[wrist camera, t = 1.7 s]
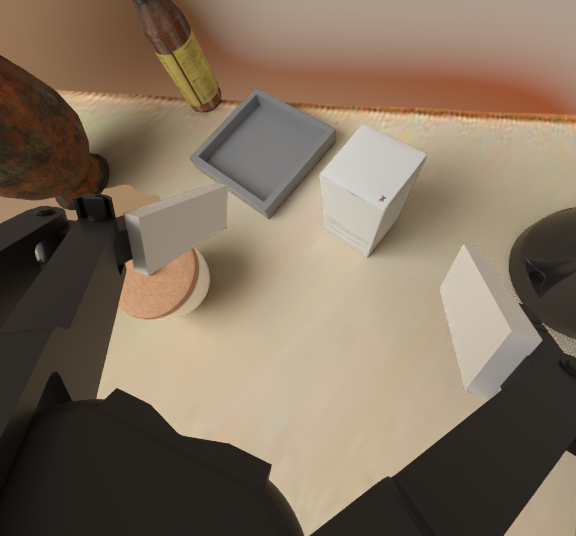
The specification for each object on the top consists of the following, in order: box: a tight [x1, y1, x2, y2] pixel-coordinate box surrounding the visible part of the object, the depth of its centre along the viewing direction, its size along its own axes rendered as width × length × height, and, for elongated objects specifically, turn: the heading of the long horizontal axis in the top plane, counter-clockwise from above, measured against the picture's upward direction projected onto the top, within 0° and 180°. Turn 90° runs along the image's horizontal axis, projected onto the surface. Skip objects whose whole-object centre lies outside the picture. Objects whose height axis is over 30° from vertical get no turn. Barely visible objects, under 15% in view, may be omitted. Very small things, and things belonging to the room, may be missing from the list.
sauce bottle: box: [133, 0, 221, 112], centre depth 39 cm, size 7×6×20 cm
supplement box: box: [319, 123, 427, 257], centre depth 31 cm, size 7×7×13 cm
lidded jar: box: [119, 247, 210, 320], centre depth 34 cm, size 11×11×9 cm
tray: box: [190, 88, 335, 219], centre depth 41 cm, size 16×16×2 cm
